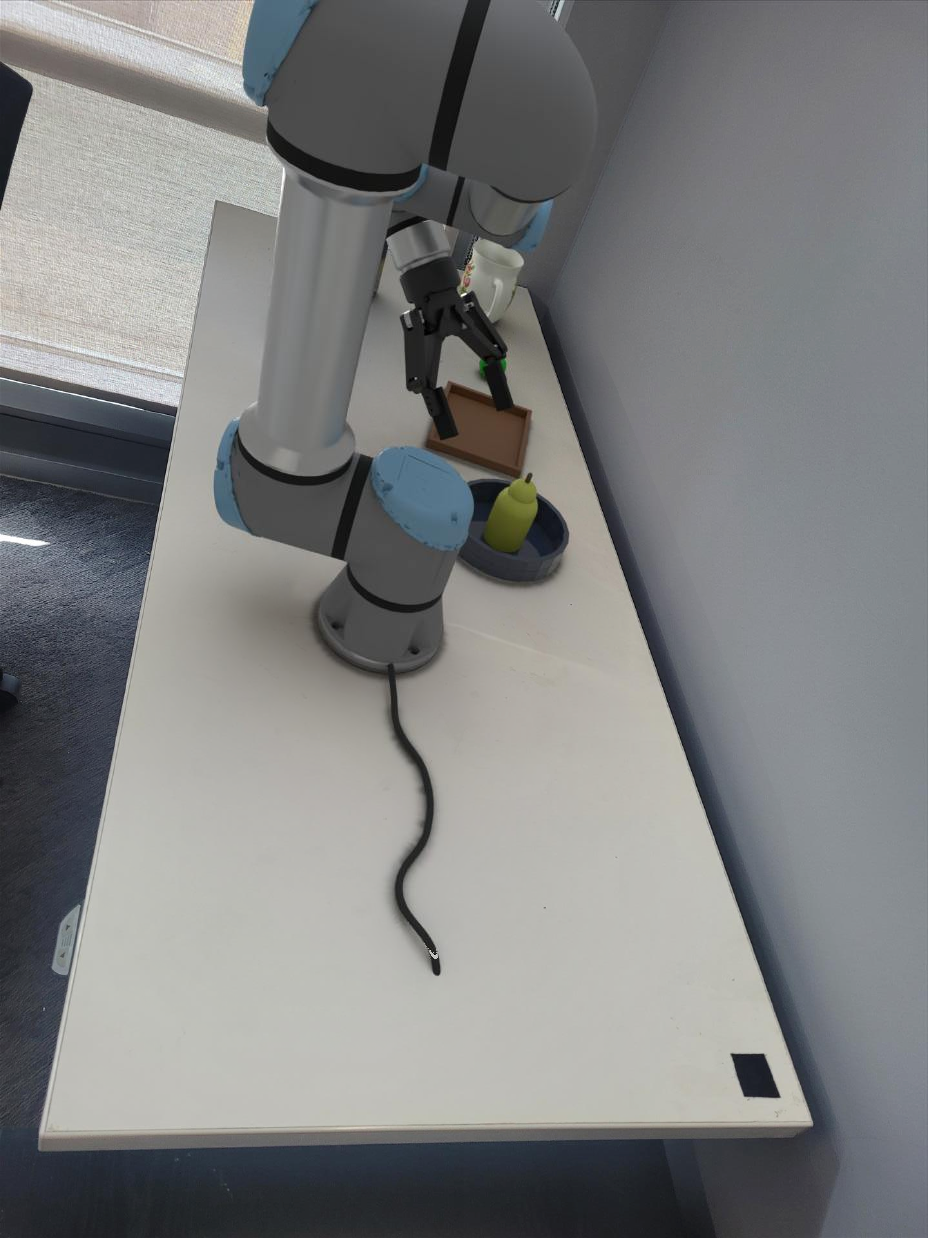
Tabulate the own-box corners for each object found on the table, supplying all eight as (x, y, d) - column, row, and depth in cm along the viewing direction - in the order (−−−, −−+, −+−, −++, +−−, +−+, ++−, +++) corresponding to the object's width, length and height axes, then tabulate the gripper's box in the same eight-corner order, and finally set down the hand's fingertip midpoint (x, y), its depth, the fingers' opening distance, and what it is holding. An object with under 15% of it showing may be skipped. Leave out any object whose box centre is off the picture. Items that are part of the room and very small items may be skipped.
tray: (517, 481, 131) (521, 471, 130) (424, 449, 130) (428, 438, 128) (528, 420, 145) (532, 410, 144) (444, 390, 144) (448, 380, 142)
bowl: (553, 599, 114) (565, 577, 111) (433, 559, 112) (442, 535, 109) (561, 524, 127) (572, 502, 124) (453, 487, 125) (461, 464, 122)
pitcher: (457, 334, 160) (478, 266, 150) (449, 291, 172) (468, 226, 162) (510, 347, 163) (534, 281, 153) (498, 304, 175) (520, 240, 166)
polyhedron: (506, 381, 153) (515, 358, 149) (489, 386, 149) (497, 363, 146) (487, 367, 154) (495, 344, 151) (470, 371, 151) (478, 348, 148)
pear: (519, 557, 117) (550, 492, 109) (480, 544, 117) (507, 478, 108) (523, 532, 122) (553, 468, 113) (485, 519, 121) (512, 454, 113)
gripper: (459, 259, 117) (506, 404, 123) (340, 290, 100) (402, 456, 106) (500, 240, 112) (547, 392, 118) (382, 269, 95) (445, 445, 101)
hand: (479, 423), depth 112 cm, fingers open, 13 cm apart
